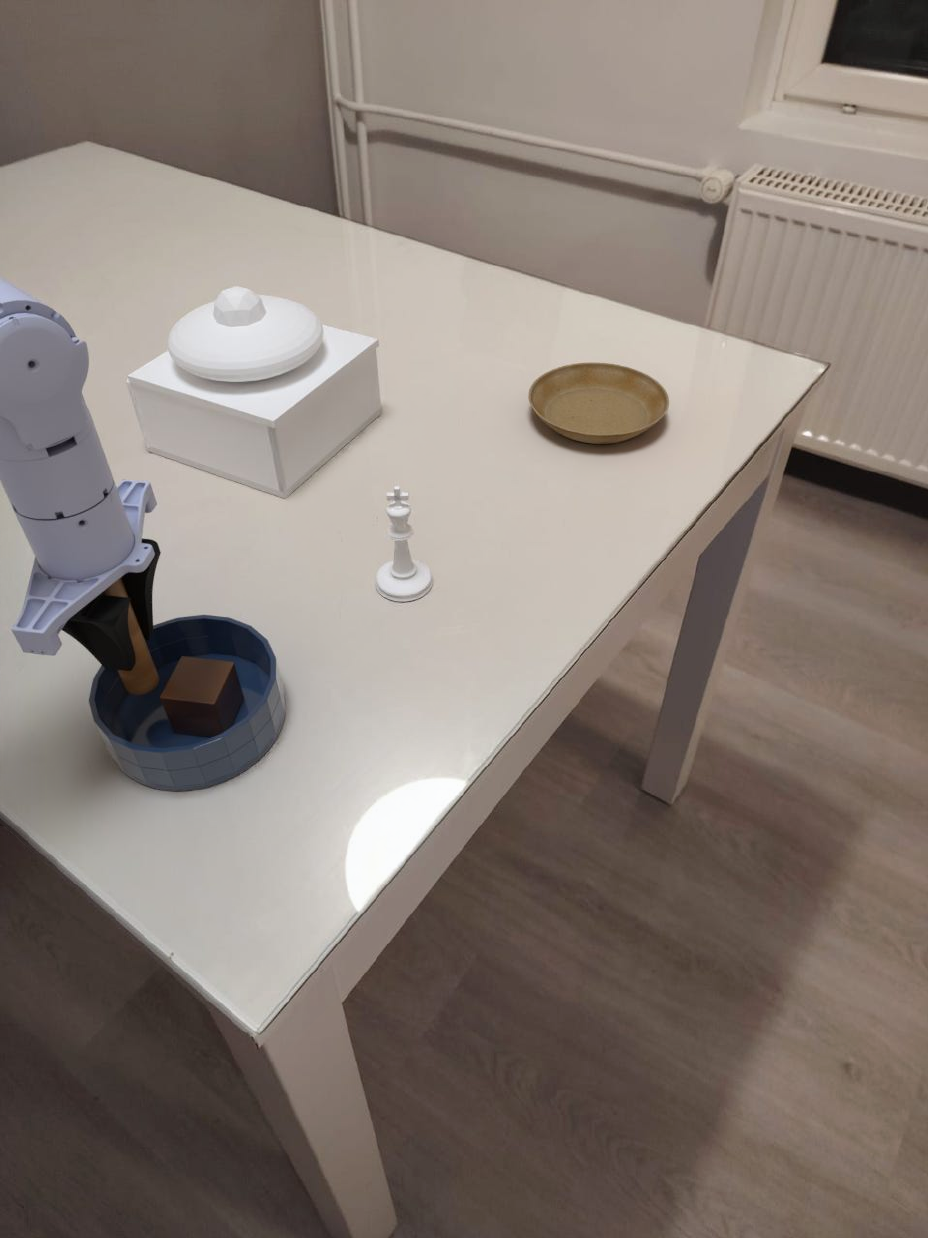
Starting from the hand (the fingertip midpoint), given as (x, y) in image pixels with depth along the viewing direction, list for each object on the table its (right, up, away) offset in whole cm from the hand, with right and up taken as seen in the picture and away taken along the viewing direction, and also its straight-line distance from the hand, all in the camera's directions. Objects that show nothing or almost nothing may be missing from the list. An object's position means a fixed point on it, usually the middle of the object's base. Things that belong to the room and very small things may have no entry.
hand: (128, 650), depth 60 cm
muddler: (0, -2, +2) cm, 3 cm away
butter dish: (+3, +22, +32) cm, 39 cm away
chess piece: (+18, +5, +15) cm, 24 cm away
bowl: (+3, -5, +4) cm, 8 cm away
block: (+4, -5, +4) cm, 8 cm away
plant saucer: (+37, +24, +34) cm, 56 cm away
